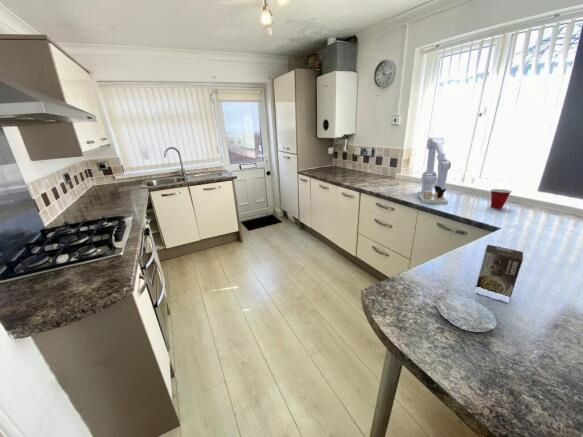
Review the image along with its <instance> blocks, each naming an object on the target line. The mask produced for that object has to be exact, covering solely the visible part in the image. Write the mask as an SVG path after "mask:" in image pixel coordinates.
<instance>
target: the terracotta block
mask: <svg viewBox="0 0 583 437" xmlns="http://www.w3.org/2000/svg"><path fill="white" fill-rule="evenodd" d="M434 194H435V196H434V199H435V200H443V196H444V195H445V192H444V193H443V195H442V197H441V198H438V192H434ZM444 197H445V196H444Z"/></svg>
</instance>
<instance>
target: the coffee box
mask: <svg viewBox="0 0 583 437" xmlns="http://www.w3.org/2000/svg"><path fill="white" fill-rule="evenodd" d="M523 260H524V252H523V251H520V250H516V249H512V248H511V249H510V248H505V247H501V246H497V245H491V244H487V245H486V248H485V251H484V255H483V258H482V263H481V266H480V270H479V274H478V277H477V282H476V284H477V285H475V287H476V286H477V287H481V288H483V289H486V290H488V291H492V292H495V293H499V294H502V295H505V296H508V297H511V298H512V294H513V292H514V288H515V285H516V283H517V279H518V277H519V276H518V275H519V273H520V270H521V267H522V264H523V262H524V261H523Z"/></svg>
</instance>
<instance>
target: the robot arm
mask: <svg viewBox="0 0 583 437" xmlns="http://www.w3.org/2000/svg"><path fill="white" fill-rule="evenodd" d="M444 143H445V138H444V137H443V136H442V137H439V136H438V137H429V138H428V140H427V142H426V149H427V150H428V152H427V164H426V170H425V171H424V172H423V173H422V175H421V178H420V180H421V183H422V185H421V191H419V193H424V191H431V192H432V193H433V188H434V189H435V190H434V191H435V192H438V198H441V197H442V195H443V193H444V194H445V191H447V188H446V187H447V186H448V184H446V183H447V182H446V181H447V178H448V173H449V170H450V168H451V166H452V164H451V163H452V162H451V161H450V160H449V159H448V156H447V153H445V152H444V147H443V146H444ZM436 154H437V155H436ZM436 159H437V162H438V164H437V172H436V171H435V162H436ZM434 184H435V185H434ZM435 192H434V193H435Z"/></svg>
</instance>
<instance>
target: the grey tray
mask: <svg viewBox="0 0 583 437" xmlns="http://www.w3.org/2000/svg"><path fill="white" fill-rule="evenodd" d="M434 196H435V193H432V198H431V199H425V198H424V193H420V192H419V193H418V194H417V197H418V198H419V200H420V202H422V203H423V204H440V205H441V204H442V205H447V204H449V199H447V197H445V196H443V200H435V199H434Z"/></svg>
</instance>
